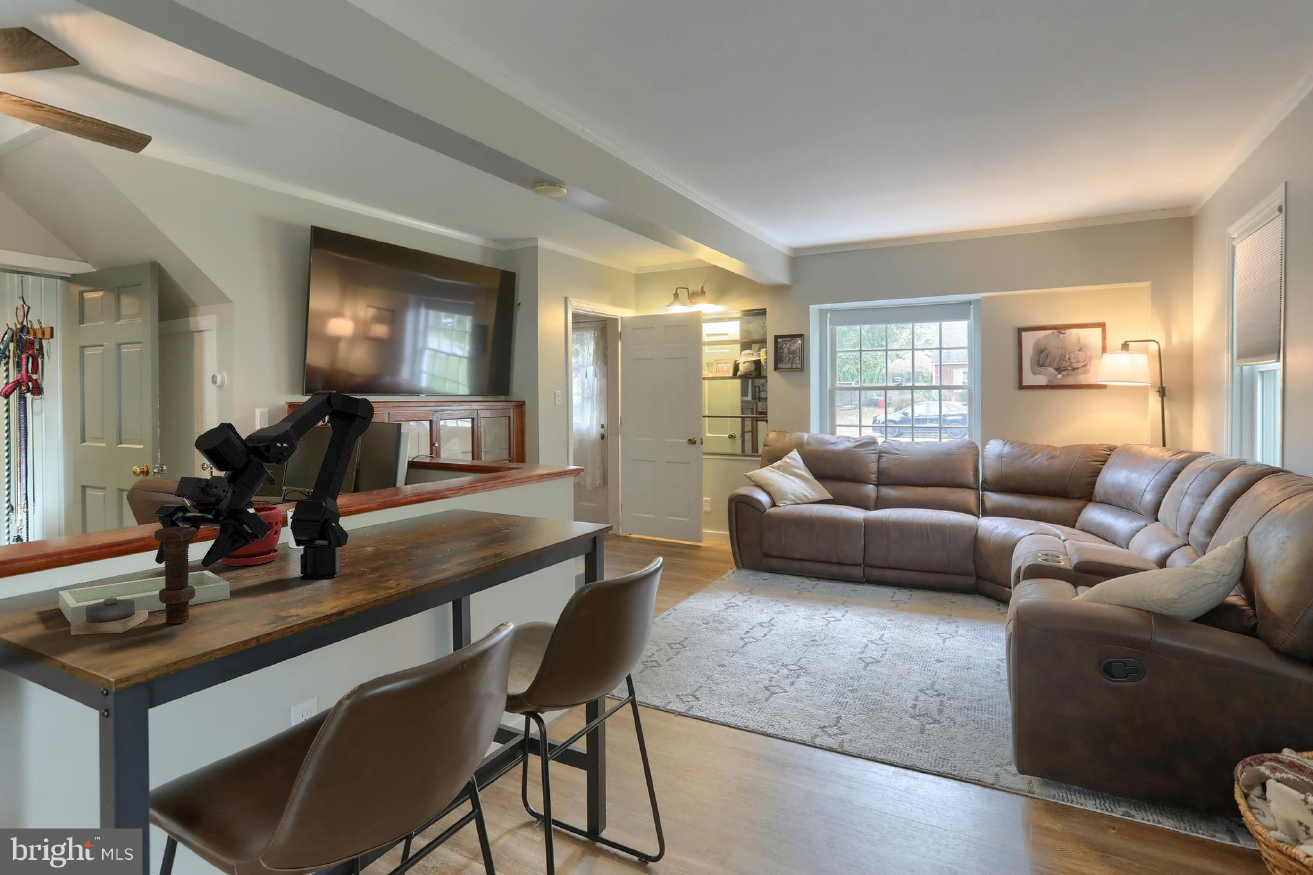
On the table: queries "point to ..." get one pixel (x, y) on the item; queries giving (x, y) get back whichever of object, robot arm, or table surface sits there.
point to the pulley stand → (109, 617)
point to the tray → (140, 594)
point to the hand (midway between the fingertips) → (180, 564)
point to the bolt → (176, 572)
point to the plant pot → (259, 549)
